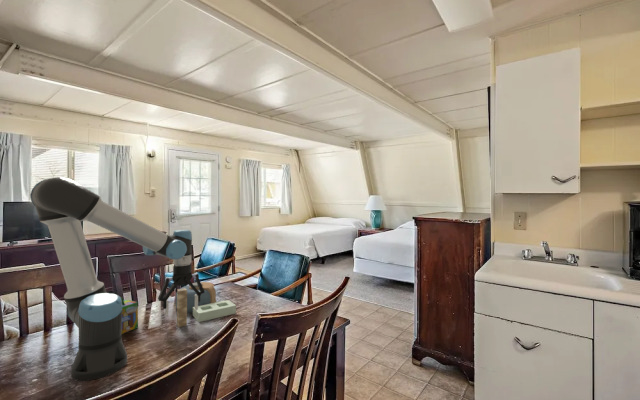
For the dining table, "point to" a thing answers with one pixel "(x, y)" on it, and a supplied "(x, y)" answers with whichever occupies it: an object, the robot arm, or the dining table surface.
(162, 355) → the dining table surface
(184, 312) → the peg
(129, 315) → the chalk box
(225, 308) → the socket block
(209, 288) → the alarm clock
